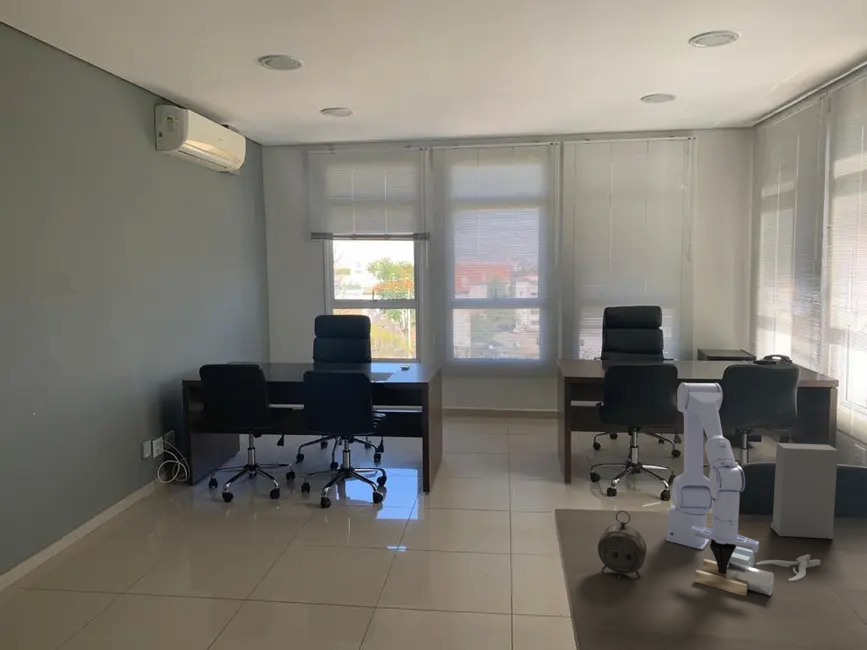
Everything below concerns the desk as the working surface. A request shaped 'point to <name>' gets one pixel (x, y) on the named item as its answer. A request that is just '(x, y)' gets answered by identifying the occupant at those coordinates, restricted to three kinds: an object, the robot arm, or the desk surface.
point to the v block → (741, 557)
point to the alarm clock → (622, 549)
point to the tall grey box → (804, 490)
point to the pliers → (801, 561)
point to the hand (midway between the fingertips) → (722, 572)
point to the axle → (752, 577)
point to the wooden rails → (719, 579)
